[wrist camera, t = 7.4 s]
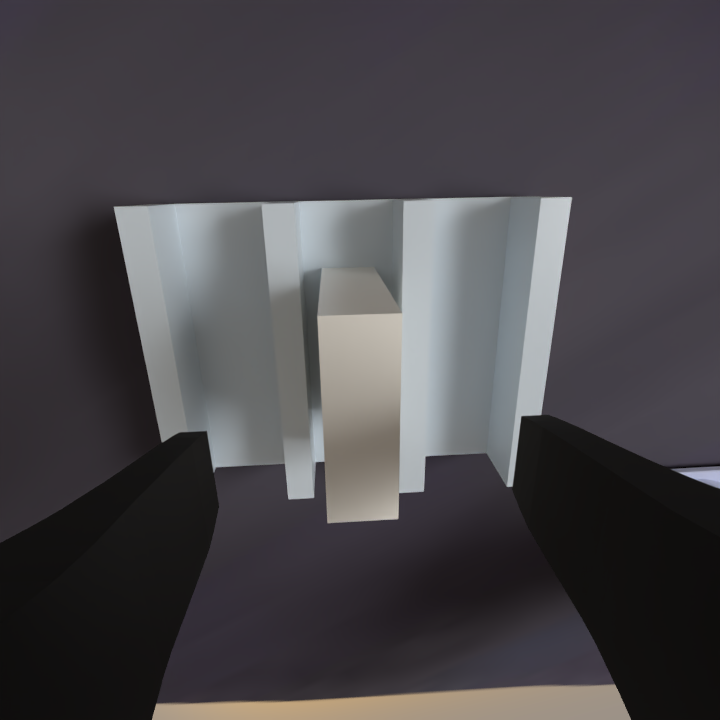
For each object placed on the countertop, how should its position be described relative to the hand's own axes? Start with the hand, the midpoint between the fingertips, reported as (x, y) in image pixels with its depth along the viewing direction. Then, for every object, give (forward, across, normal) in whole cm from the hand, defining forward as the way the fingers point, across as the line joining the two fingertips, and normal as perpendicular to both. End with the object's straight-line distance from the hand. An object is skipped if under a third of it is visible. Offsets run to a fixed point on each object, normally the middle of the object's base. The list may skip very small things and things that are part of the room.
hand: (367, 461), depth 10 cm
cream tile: (+8, 0, 0) cm, 8 cm away
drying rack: (+9, 0, 0) cm, 9 cm away
